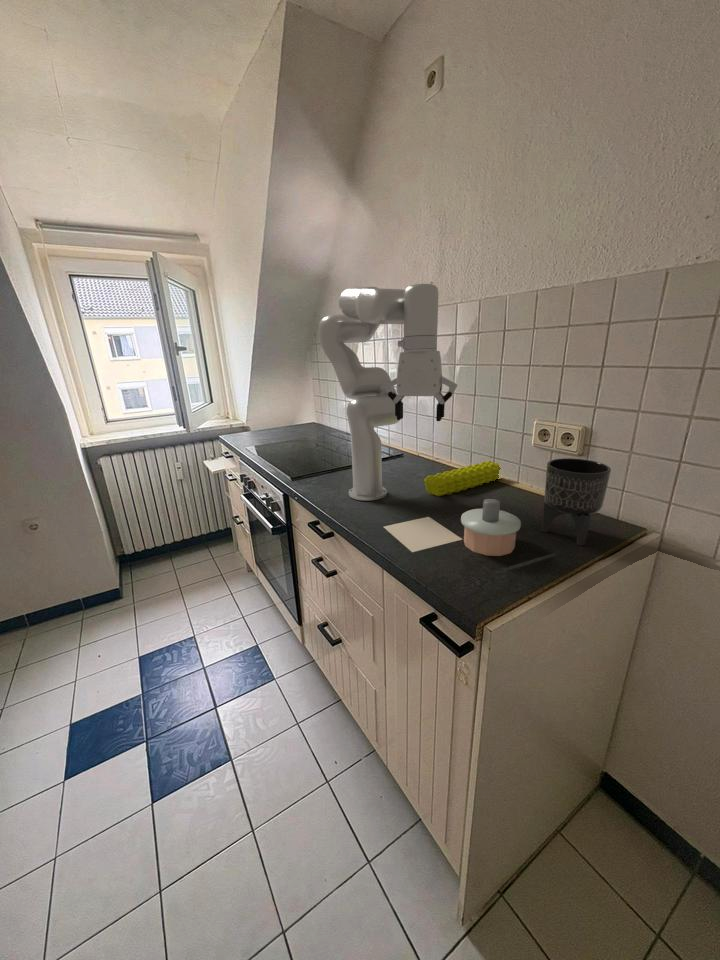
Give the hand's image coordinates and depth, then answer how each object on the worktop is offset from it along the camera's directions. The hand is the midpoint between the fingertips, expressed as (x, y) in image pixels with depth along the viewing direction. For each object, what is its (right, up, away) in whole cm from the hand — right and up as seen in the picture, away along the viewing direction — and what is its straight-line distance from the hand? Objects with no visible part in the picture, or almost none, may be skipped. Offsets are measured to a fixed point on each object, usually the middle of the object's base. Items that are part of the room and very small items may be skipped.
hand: (419, 419), depth 91 cm
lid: (+16, -24, -5) cm, 29 cm away
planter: (+37, -28, +1) cm, 46 cm away
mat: (+1, -28, +4) cm, 29 cm away
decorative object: (+22, -17, +36) cm, 46 cm away
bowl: (+16, -30, -3) cm, 34 cm away
